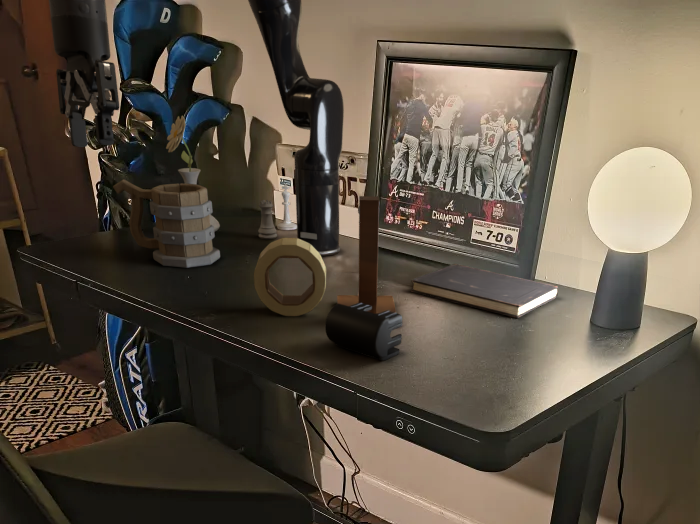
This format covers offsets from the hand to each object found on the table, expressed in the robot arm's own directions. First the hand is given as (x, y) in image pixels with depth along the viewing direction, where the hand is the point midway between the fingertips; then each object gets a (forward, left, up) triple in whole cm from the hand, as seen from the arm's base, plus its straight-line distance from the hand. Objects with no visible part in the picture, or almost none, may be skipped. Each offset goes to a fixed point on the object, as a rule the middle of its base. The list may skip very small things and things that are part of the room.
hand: (92, 145), depth 112 cm
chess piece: (-66, +25, -26) cm, 75 cm away
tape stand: (-2, +42, -26) cm, 49 cm away
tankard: (-37, +2, -26) cm, 46 cm away
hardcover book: (-14, +65, -26) cm, 71 cm away
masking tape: (-3, +29, -26) cm, 39 cm away
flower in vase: (-58, +4, -26) cm, 64 cm away
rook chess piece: (-56, +21, -26) cm, 66 cm away
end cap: (+16, +41, -26) cm, 51 cm away
